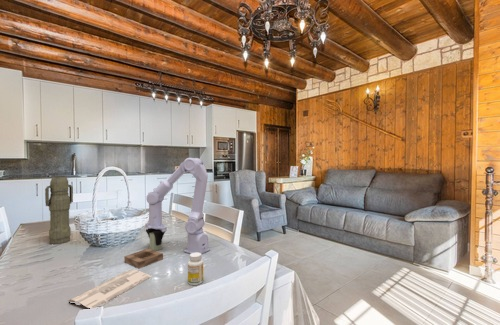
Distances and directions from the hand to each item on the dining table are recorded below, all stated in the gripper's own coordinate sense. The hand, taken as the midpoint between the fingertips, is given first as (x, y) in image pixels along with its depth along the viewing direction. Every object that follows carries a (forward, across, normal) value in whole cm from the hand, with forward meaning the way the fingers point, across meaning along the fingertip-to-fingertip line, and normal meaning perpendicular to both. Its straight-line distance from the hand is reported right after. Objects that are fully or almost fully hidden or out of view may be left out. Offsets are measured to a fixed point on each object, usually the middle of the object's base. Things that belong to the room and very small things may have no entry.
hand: (155, 244), depth 115 cm
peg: (+2, 0, 0) cm, 2 cm away
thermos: (+3, -53, -22) cm, 57 cm away
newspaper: (+3, +20, -30) cm, 36 cm away
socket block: (+2, +8, -11) cm, 14 cm away
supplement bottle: (+3, +40, -11) cm, 42 cm away
